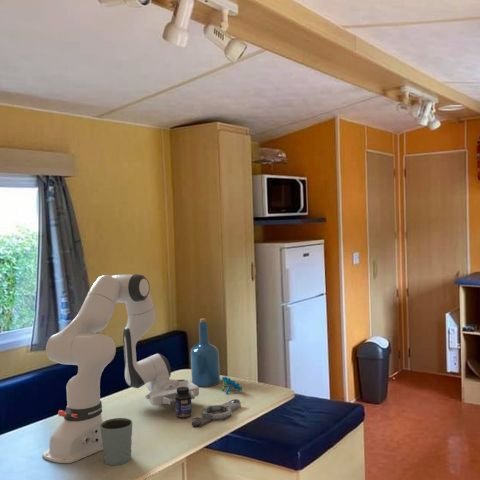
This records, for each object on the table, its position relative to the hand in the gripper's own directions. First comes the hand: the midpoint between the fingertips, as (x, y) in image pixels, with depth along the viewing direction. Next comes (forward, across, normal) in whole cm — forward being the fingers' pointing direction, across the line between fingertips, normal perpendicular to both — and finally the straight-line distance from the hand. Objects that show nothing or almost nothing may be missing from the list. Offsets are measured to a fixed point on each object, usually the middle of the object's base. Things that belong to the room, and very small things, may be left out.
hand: (182, 399), depth 219 cm
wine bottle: (-32, +26, +6) cm, 42 cm away
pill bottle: (+1, 0, +7) cm, 7 cm away
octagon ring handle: (+9, +10, +6) cm, 15 cm away
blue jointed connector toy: (-13, +30, +7) cm, 33 cm away
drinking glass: (+22, -34, +7) cm, 41 cm away
